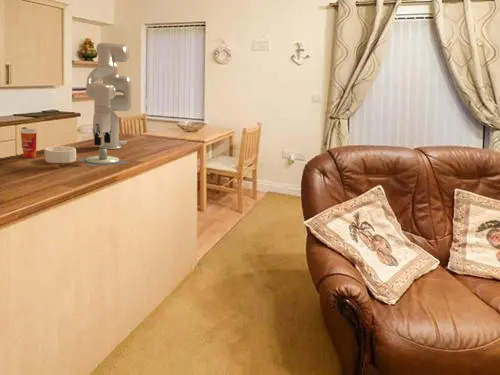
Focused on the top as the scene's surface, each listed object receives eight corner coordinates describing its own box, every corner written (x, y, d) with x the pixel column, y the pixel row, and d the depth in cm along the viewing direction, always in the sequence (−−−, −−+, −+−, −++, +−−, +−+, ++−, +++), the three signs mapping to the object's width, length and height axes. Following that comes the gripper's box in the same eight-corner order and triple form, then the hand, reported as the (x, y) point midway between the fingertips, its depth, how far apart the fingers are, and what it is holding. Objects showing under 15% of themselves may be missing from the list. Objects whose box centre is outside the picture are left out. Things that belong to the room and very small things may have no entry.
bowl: (70, 157, 226) (70, 145, 224) (79, 162, 216) (79, 150, 214) (41, 158, 217) (41, 147, 215) (50, 164, 207) (49, 152, 205)
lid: (111, 156, 232) (111, 145, 230) (124, 163, 220) (124, 151, 219) (81, 158, 222) (81, 147, 220) (93, 165, 210) (93, 153, 209)
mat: (113, 156, 235) (113, 155, 235) (129, 164, 220) (129, 163, 220) (76, 159, 222) (76, 158, 222) (90, 167, 207) (90, 166, 207)
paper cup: (17, 157, 217) (16, 129, 213) (30, 154, 223) (29, 127, 220) (29, 159, 214) (28, 131, 210) (42, 156, 221) (40, 129, 217)
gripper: (104, 108, 223) (104, 141, 227) (86, 110, 206) (86, 145, 210) (117, 109, 222) (117, 142, 226) (100, 111, 205) (100, 146, 209)
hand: (102, 144), depth 218 cm, fingers open, 9 cm apart
